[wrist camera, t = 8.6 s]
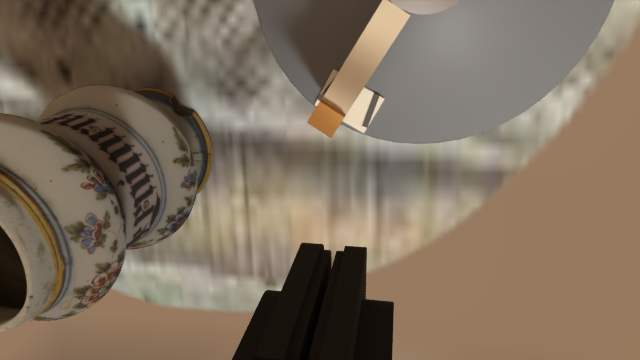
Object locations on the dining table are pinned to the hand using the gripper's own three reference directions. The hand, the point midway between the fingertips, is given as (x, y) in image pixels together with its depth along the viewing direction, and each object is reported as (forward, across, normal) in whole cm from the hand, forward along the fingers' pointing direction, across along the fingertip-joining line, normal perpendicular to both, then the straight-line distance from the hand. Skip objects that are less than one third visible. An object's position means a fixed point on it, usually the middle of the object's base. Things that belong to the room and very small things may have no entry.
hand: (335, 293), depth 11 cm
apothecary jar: (+22, +18, +4) cm, 29 cm away
